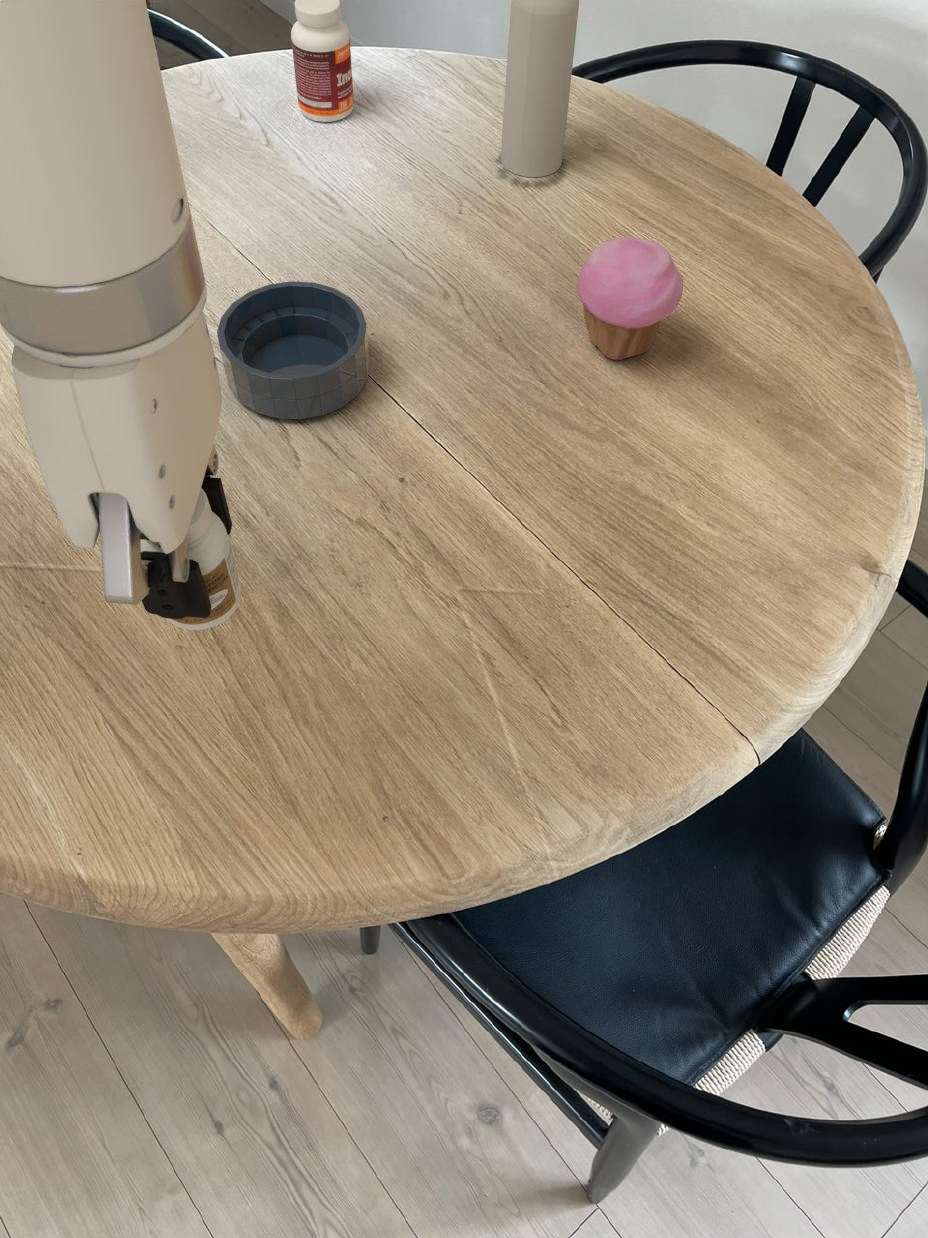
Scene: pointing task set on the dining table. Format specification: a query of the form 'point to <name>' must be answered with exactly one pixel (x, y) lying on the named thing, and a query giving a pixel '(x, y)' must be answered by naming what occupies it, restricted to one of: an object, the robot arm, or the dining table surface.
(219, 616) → the pill bottle
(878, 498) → the dining table surface
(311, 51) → the pill bottle
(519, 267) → the dining table surface
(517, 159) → the bottle
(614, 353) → the cupcake
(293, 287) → the bowl
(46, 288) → the robot arm
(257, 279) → the dining table surface
